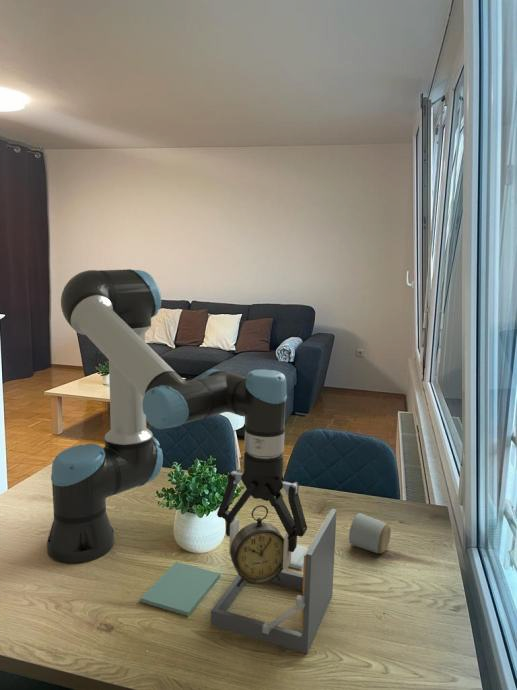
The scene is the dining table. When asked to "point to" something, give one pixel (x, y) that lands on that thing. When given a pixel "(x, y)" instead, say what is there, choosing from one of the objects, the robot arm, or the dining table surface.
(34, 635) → the dining table surface
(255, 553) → the alarm clock
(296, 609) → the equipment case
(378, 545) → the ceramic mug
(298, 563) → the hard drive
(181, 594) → the rubber mat
